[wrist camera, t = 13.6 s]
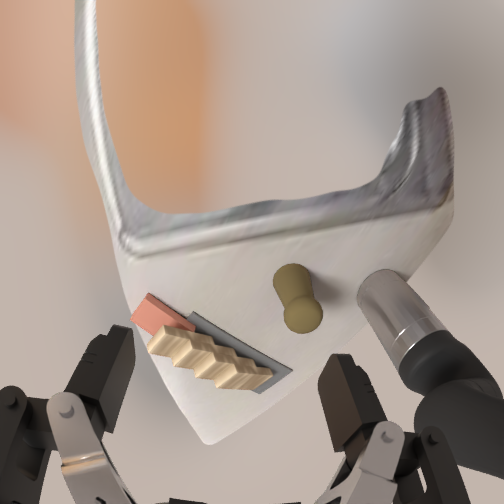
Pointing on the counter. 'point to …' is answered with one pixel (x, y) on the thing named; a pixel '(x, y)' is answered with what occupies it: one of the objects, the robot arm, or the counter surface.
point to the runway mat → (240, 350)
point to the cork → (297, 298)
